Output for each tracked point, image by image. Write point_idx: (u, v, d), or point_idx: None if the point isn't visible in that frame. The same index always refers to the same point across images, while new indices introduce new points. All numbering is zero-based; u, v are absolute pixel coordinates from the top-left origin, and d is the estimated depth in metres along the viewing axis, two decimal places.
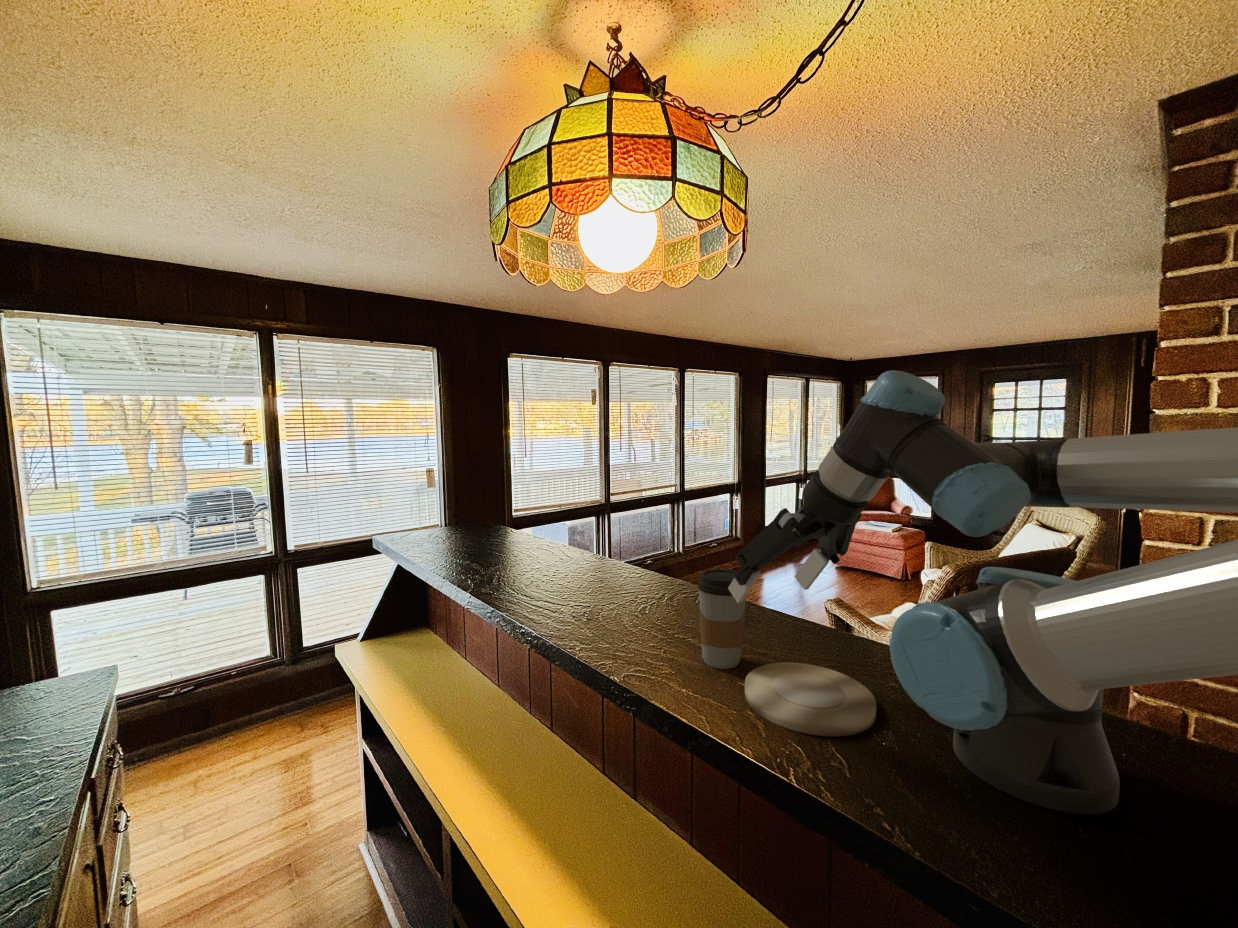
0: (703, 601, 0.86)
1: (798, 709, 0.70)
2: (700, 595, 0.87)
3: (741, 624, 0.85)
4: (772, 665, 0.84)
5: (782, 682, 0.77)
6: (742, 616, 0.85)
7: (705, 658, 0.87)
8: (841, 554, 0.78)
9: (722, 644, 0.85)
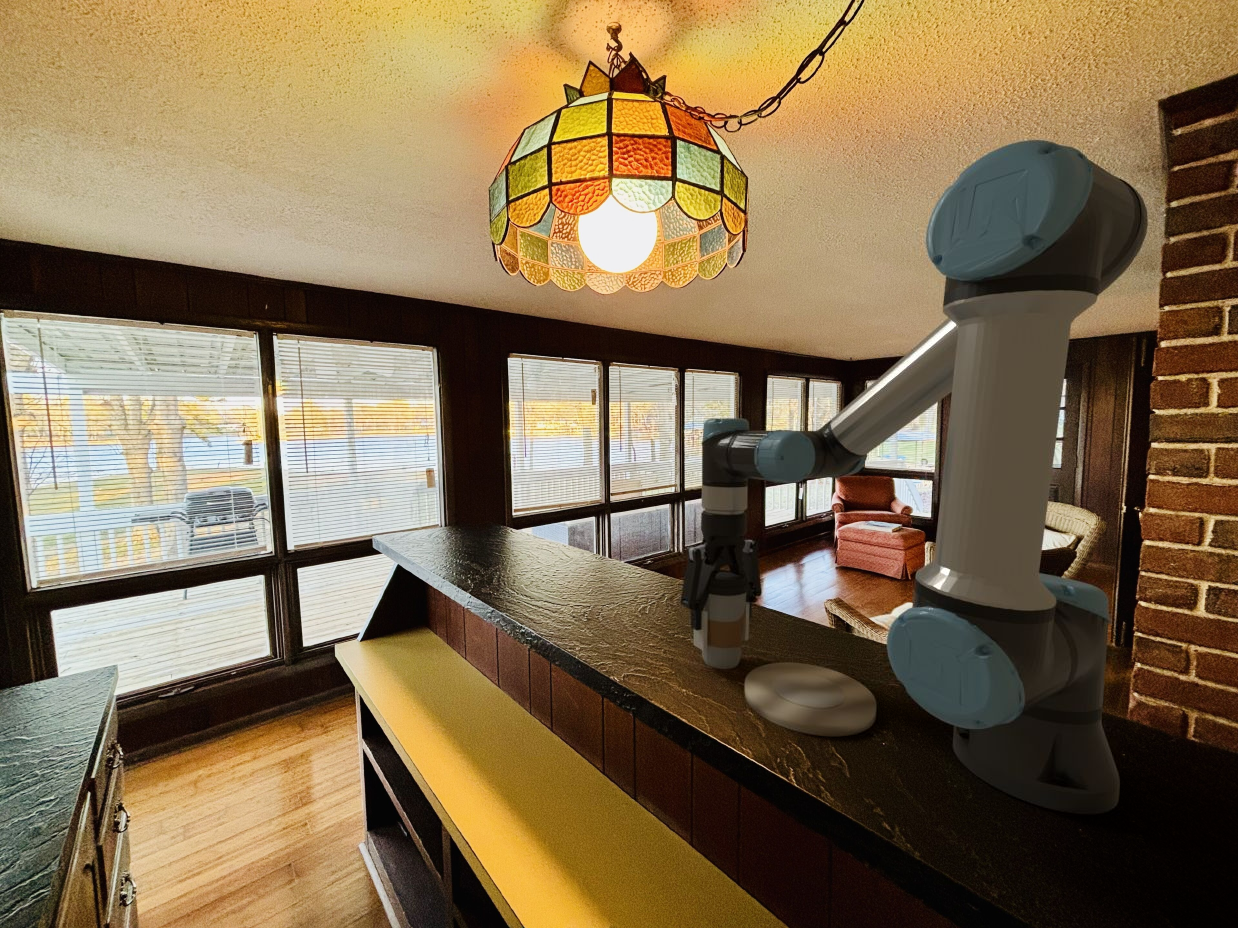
0: None
1: (798, 709, 0.70)
2: None
3: (741, 624, 0.85)
4: (772, 665, 0.84)
5: (782, 682, 0.77)
6: (742, 616, 0.85)
7: (705, 658, 0.87)
8: (757, 594, 0.90)
9: (722, 644, 0.85)
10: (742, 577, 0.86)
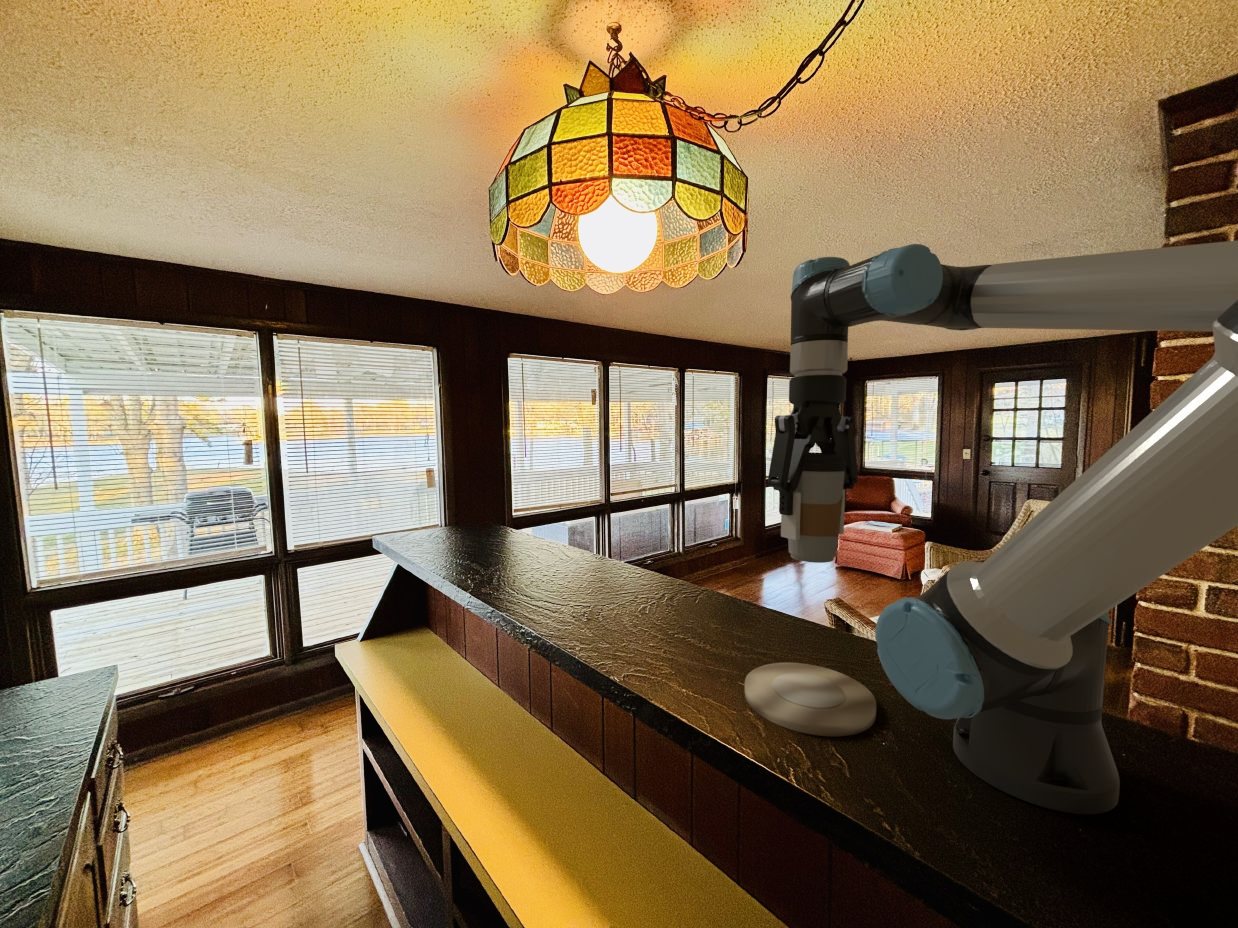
0: None
1: (798, 709, 0.70)
2: None
3: (839, 509, 0.71)
4: (772, 665, 0.84)
5: (782, 682, 0.77)
6: (841, 500, 0.71)
7: (795, 552, 0.73)
8: (853, 480, 0.76)
9: (818, 531, 0.71)
10: None
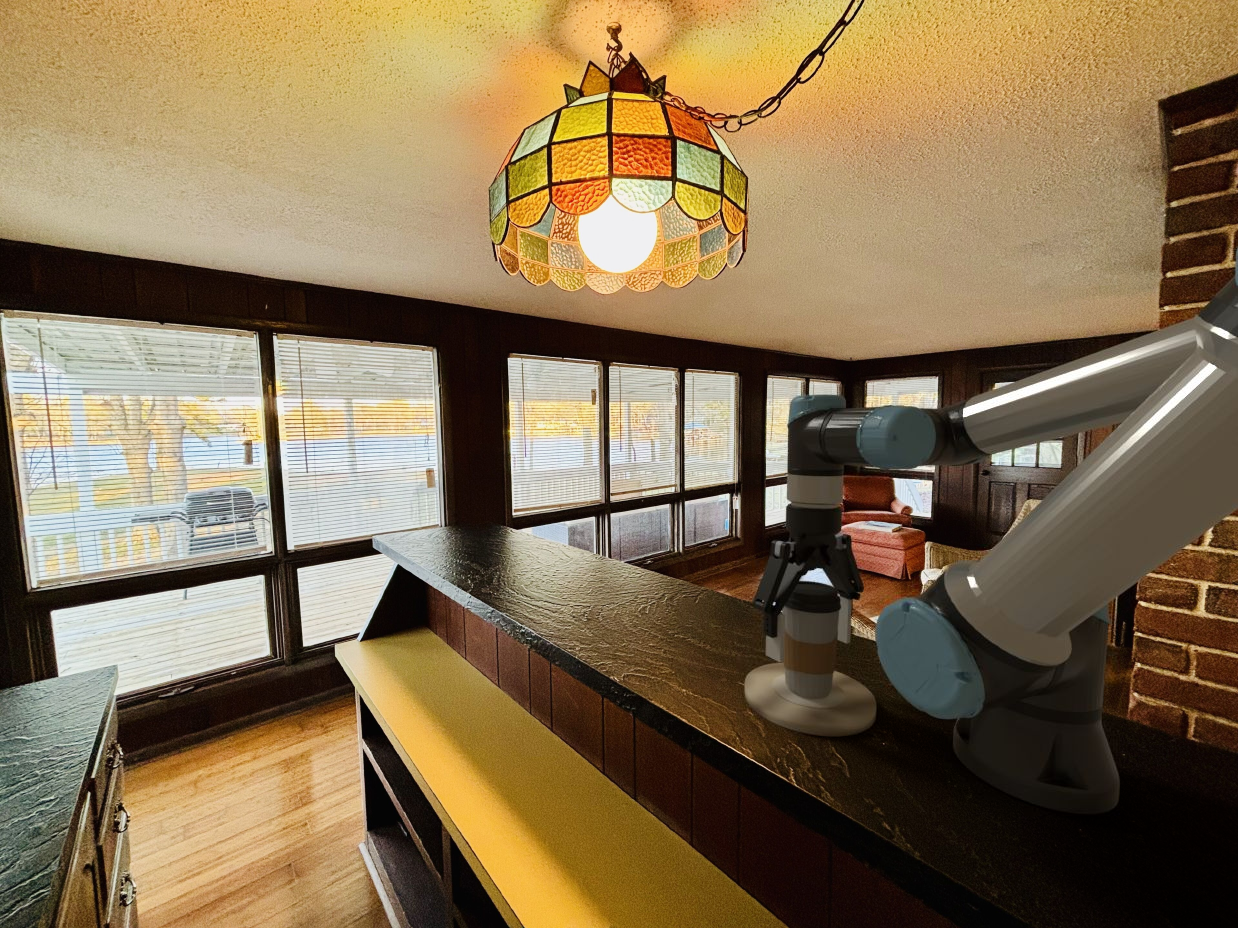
0: (790, 620, 0.73)
1: (798, 709, 0.70)
2: (785, 612, 0.74)
3: (835, 646, 0.73)
4: (772, 665, 0.84)
5: (782, 682, 0.77)
6: (836, 637, 0.73)
7: (791, 686, 0.74)
8: (859, 590, 0.78)
9: (814, 670, 0.72)
10: (835, 591, 0.73)
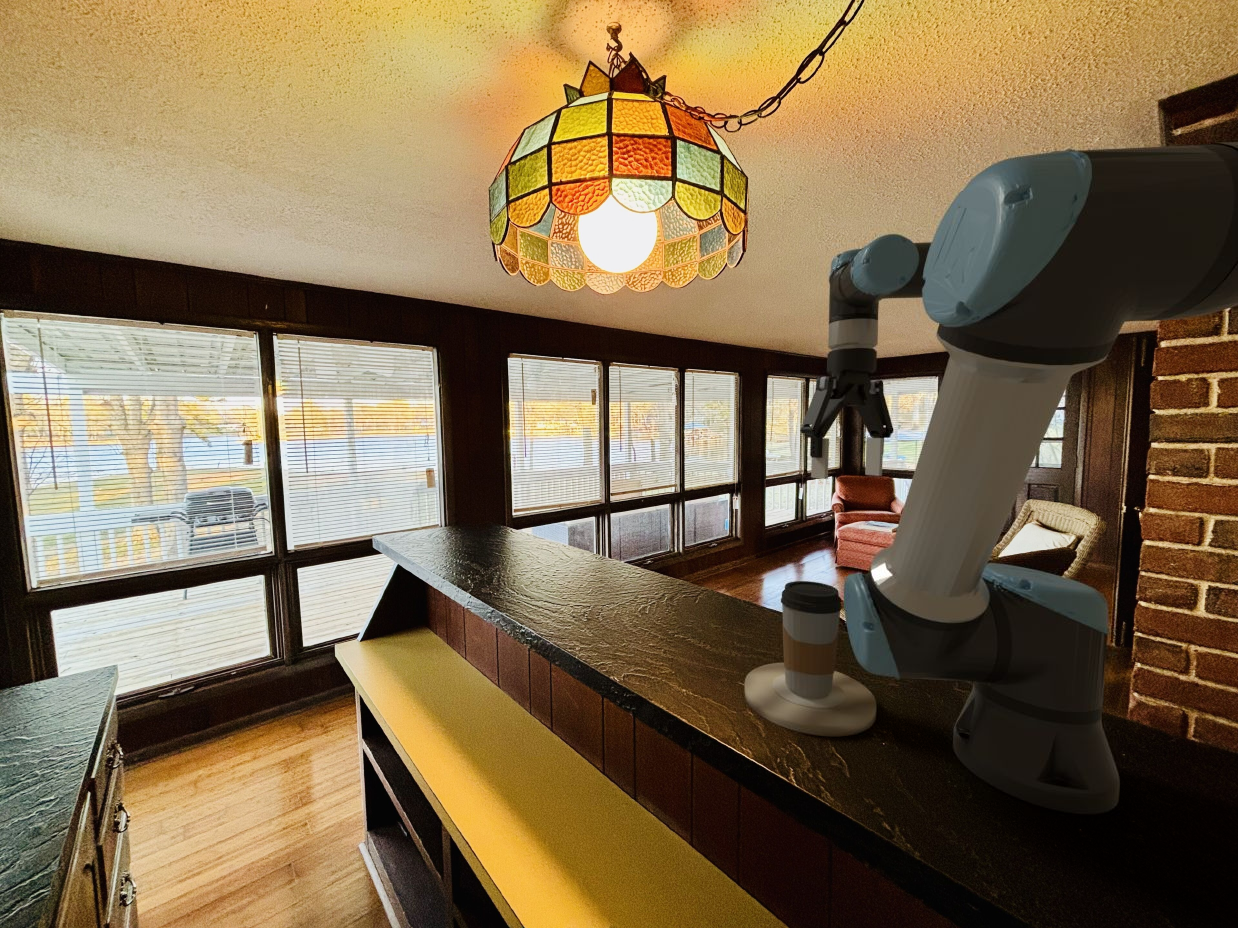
0: (790, 620, 0.73)
1: (798, 709, 0.70)
2: (785, 612, 0.74)
3: (835, 646, 0.73)
4: (772, 665, 0.84)
5: (782, 682, 0.77)
6: (836, 637, 0.73)
7: (791, 686, 0.74)
8: (890, 431, 0.90)
9: (814, 670, 0.72)
10: (836, 591, 0.73)
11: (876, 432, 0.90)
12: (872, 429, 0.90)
